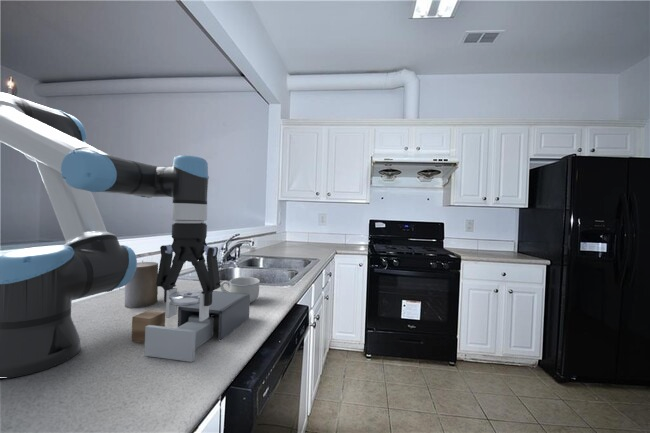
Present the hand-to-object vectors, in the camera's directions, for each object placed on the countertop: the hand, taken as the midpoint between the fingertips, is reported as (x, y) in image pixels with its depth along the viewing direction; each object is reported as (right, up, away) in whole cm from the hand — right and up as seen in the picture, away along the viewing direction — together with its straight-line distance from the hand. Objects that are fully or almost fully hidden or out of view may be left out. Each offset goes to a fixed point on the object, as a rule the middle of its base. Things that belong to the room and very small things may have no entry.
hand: (187, 317), depth 66 cm
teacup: (+2, -7, +36) cm, 37 cm away
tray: (0, -7, 0) cm, 7 cm away
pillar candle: (-31, -6, +30) cm, 44 cm away
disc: (0, +4, 0) cm, 4 cm away
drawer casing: (+2, -7, +13) cm, 15 cm away
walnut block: (-12, -7, +4) cm, 14 cm away
